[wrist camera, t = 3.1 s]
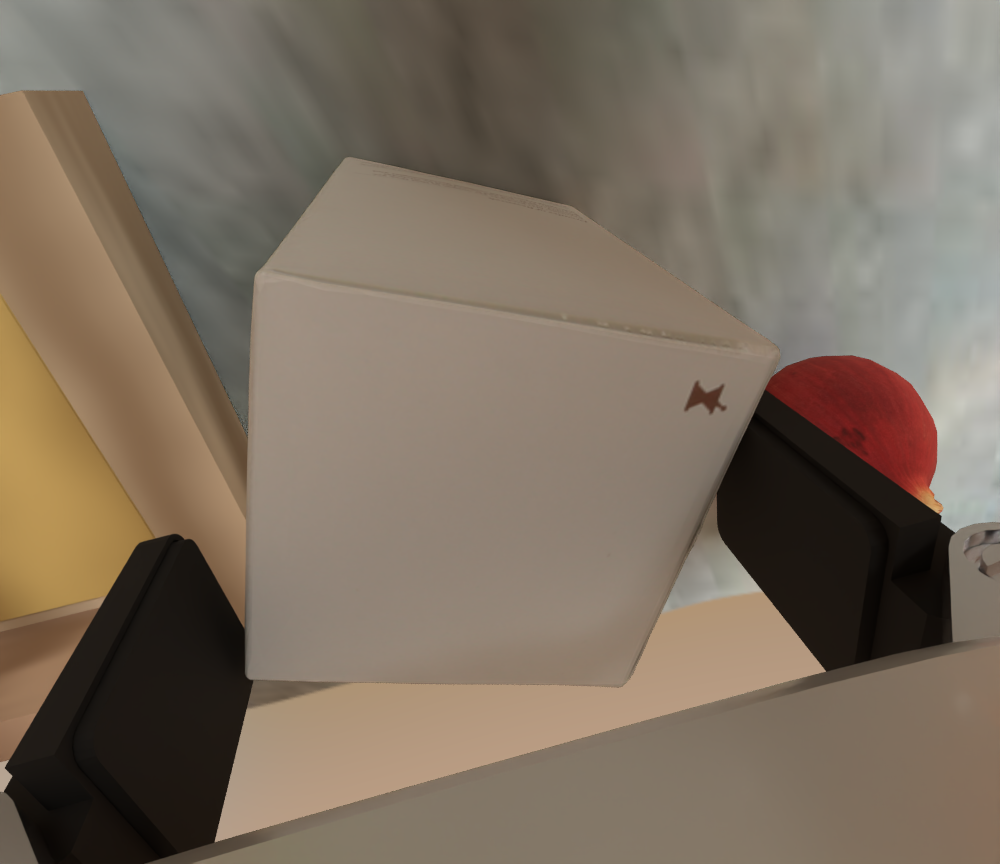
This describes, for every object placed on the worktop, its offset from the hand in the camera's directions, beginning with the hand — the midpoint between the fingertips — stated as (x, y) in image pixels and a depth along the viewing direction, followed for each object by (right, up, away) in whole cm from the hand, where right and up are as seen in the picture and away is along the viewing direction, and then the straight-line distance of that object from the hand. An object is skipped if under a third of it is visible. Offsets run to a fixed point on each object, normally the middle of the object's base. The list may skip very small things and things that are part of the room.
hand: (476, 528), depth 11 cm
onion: (+11, +3, +14) cm, 18 cm away
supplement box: (-2, +6, +10) cm, 12 cm away
